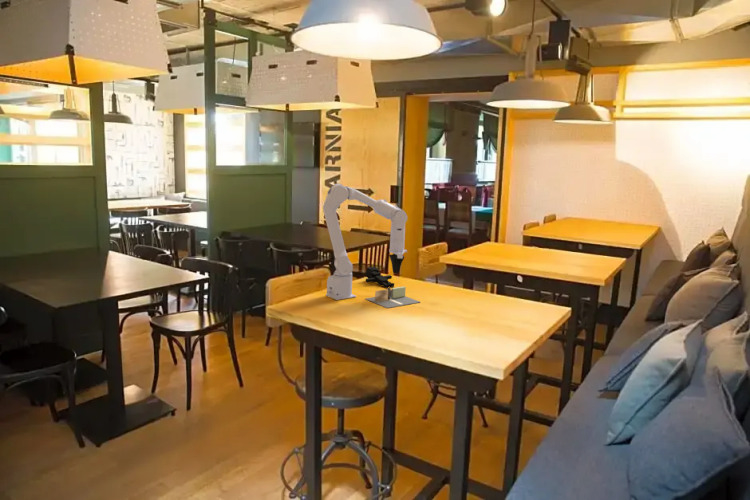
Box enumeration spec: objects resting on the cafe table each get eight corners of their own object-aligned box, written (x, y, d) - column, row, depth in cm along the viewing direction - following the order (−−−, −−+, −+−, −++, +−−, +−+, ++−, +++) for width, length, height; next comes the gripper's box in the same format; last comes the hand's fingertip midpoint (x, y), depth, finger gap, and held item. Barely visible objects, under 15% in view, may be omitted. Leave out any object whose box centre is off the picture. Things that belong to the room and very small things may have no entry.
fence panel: (391, 298, 212) (391, 289, 211) (389, 297, 213) (390, 288, 212) (405, 296, 216) (405, 287, 215) (403, 295, 217) (404, 286, 216)
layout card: (387, 308, 200) (387, 307, 200) (365, 299, 211) (365, 298, 211) (420, 302, 210) (420, 301, 210) (397, 294, 221) (397, 293, 221)
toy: (379, 283, 226) (358, 268, 236) (376, 295, 227) (355, 280, 238) (403, 279, 234) (382, 265, 245) (401, 291, 236) (380, 276, 247)
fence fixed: (376, 302, 208) (377, 290, 207) (374, 301, 209) (375, 289, 208) (390, 299, 212) (391, 288, 211) (388, 299, 213) (389, 287, 212)
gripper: (411, 242, 208) (409, 276, 210) (403, 236, 222) (402, 268, 224) (393, 242, 207) (391, 276, 209) (386, 236, 221) (385, 268, 223)
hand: (395, 272), depth 217 cm, fingers closed
